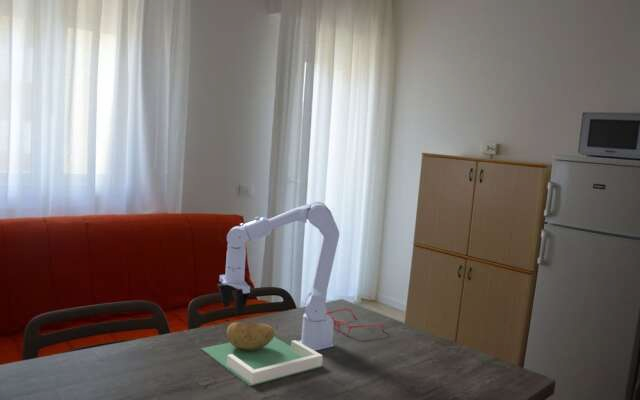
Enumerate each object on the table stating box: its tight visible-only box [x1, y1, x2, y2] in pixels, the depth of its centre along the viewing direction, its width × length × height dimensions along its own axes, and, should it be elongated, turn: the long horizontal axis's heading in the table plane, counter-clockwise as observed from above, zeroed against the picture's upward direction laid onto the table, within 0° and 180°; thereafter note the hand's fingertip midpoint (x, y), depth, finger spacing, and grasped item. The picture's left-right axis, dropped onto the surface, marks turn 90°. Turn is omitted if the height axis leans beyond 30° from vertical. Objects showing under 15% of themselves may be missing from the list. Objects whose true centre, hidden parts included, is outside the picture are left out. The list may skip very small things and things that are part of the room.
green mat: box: [200, 336, 324, 387], centre depth 151 cm, size 24×26×1 cm
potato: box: [225, 321, 276, 351], centre depth 155 cm, size 10×14×8 cm
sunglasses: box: [326, 308, 385, 337], centre depth 182 cm, size 17×16×5 cm
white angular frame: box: [227, 339, 324, 384], centre depth 146 cm, size 23×13×3 cm, turn 130°
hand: (232, 310), depth 161 cm, fingers open, 7 cm apart
